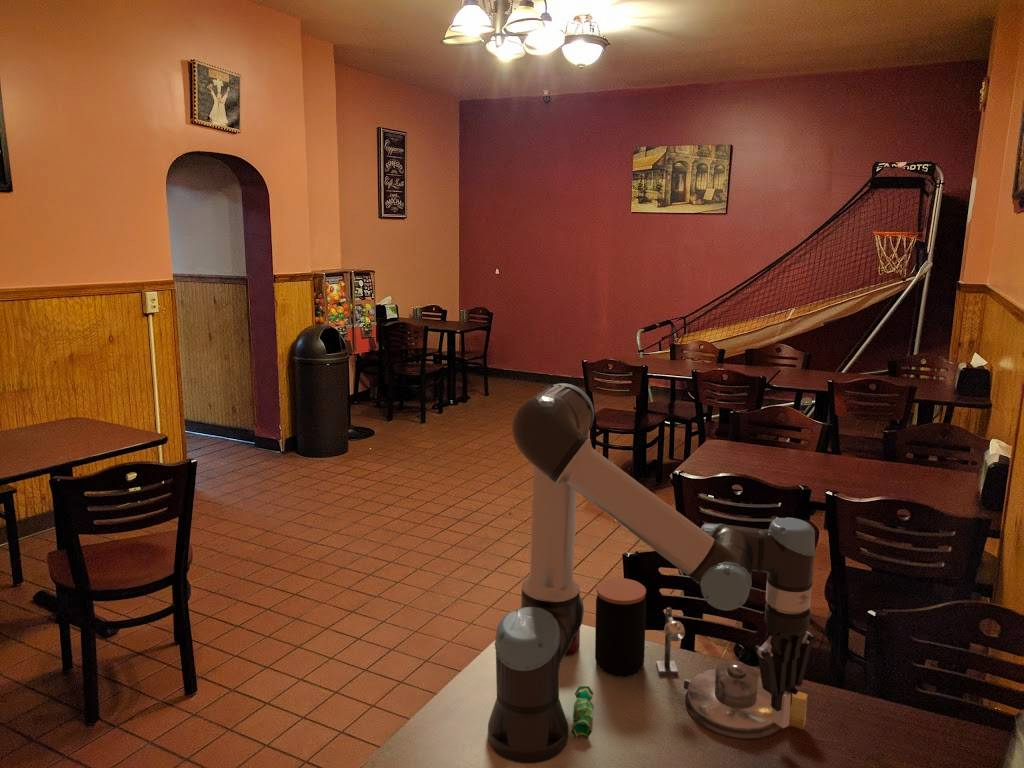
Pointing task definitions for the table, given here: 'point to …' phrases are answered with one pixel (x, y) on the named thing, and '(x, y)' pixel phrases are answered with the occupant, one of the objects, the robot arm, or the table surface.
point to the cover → (736, 684)
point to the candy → (582, 711)
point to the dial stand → (672, 633)
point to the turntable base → (728, 733)
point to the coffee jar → (620, 626)
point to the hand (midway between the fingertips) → (780, 722)
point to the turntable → (734, 718)
